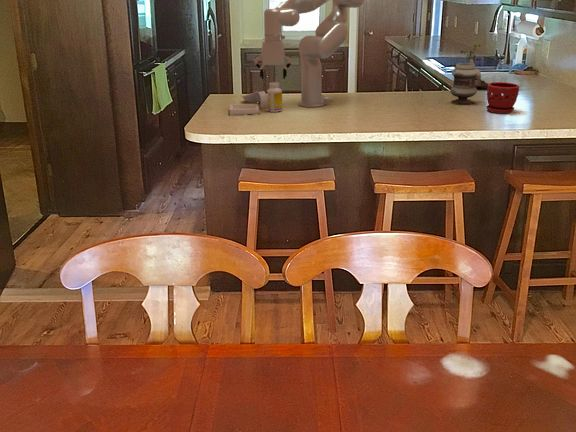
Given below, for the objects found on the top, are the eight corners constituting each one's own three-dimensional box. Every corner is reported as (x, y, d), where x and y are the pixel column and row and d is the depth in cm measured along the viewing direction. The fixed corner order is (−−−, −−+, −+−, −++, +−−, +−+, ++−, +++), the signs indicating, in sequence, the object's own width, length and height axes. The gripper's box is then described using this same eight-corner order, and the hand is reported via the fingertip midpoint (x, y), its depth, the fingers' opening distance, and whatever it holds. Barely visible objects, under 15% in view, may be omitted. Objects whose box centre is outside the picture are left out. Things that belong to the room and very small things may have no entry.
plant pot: (484, 113, 267) (486, 85, 263) (486, 108, 278) (488, 81, 274) (516, 115, 262) (519, 87, 258) (516, 109, 274) (519, 82, 270)
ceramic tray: (258, 109, 286) (258, 103, 285) (259, 114, 274) (259, 108, 273) (230, 109, 285) (229, 104, 284) (229, 115, 273) (229, 109, 272)
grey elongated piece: (239, 101, 307) (238, 87, 304) (261, 99, 310) (261, 85, 308) (254, 109, 286) (253, 94, 283) (278, 107, 290) (277, 92, 287)
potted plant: (461, 95, 323) (454, 47, 321) (456, 98, 342) (449, 53, 340) (500, 88, 320) (493, 40, 318) (492, 92, 339) (486, 46, 337)
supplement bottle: (284, 110, 282) (284, 81, 277) (278, 113, 276) (278, 84, 272) (271, 109, 285) (271, 81, 280) (265, 112, 279) (264, 83, 274)
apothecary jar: (447, 104, 288) (450, 65, 282) (451, 100, 299) (454, 62, 292) (474, 105, 284) (477, 65, 277) (477, 101, 294) (480, 62, 288)
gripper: (292, 38, 273) (291, 77, 279) (252, 38, 272) (253, 77, 278) (293, 39, 266) (293, 79, 272) (253, 39, 265) (254, 79, 271)
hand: (273, 78), depth 275 cm, fingers open, 9 cm apart
